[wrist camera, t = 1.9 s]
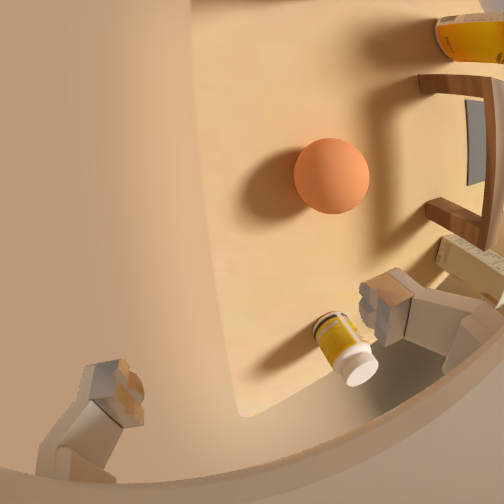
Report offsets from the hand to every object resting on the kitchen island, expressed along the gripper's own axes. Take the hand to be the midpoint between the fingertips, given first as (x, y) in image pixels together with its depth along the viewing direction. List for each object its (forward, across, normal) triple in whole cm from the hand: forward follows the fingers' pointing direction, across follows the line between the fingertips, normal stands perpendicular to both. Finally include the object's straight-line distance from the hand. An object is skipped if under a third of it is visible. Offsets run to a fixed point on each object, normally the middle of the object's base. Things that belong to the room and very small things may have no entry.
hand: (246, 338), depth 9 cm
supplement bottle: (+16, -10, +19) cm, 27 cm away
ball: (+13, -10, 0) cm, 16 cm away
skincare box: (+16, -31, +15) cm, 38 cm away
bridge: (+16, -26, 0) cm, 30 cm away
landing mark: (+16, -40, 0) cm, 43 cm away
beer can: (+16, -32, -14) cm, 38 cm away
